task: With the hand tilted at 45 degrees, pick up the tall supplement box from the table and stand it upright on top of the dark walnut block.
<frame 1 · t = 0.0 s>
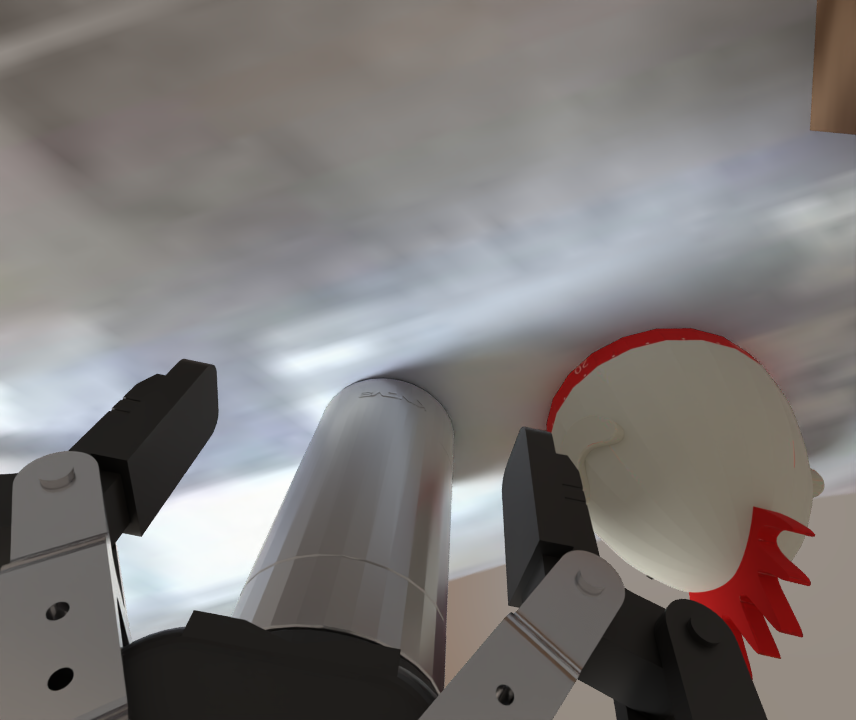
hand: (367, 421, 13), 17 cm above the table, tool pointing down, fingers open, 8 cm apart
kitchen timer: (653, 422, 33), on the table
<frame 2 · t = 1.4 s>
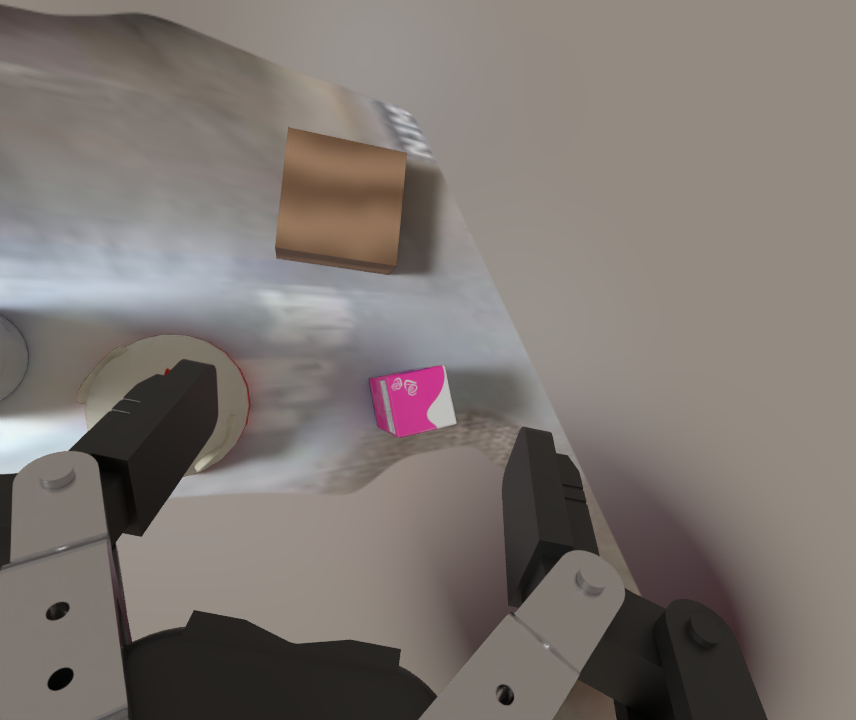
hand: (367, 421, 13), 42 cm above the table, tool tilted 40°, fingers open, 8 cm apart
supplement box: (396, 397, 56), on the table
kitchen timer: (176, 404, 50), on the table
walnut block: (338, 213, 55), on the table
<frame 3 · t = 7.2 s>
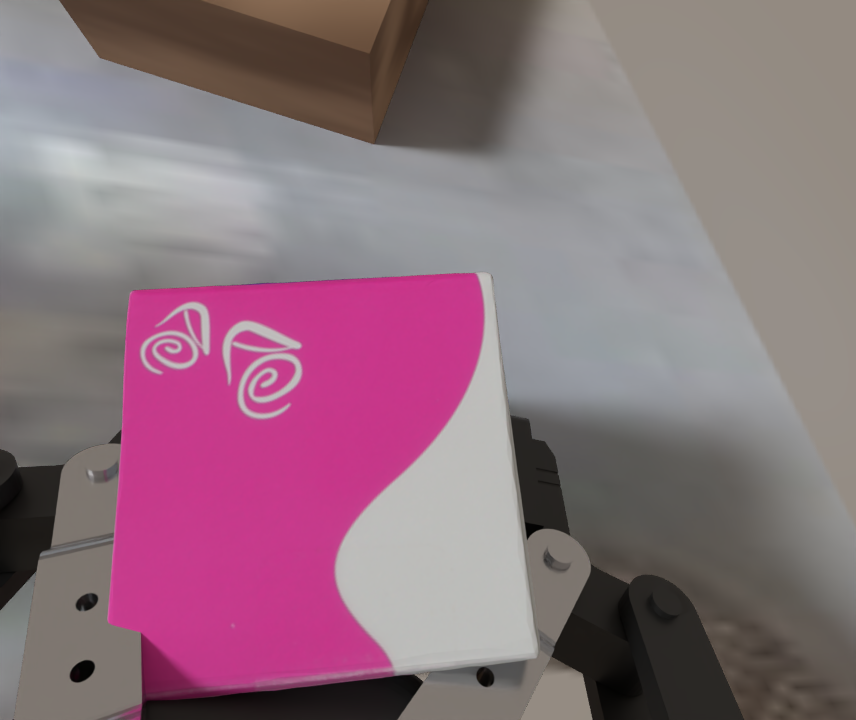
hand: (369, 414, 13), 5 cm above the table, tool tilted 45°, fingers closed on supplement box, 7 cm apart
supplement box: (366, 472, 18), on the table, touching gripper
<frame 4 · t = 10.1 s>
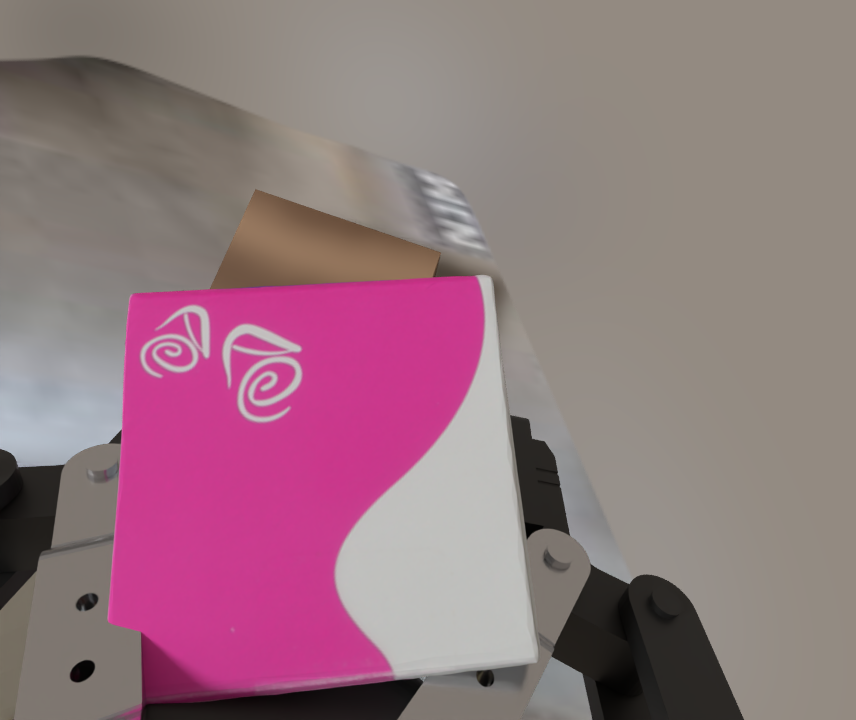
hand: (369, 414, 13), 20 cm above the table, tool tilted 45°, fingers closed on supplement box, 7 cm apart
supplement box: (367, 473, 18), point 14 cm above the table, touching gripper
walnut block: (323, 331, 34), on the table
when the fingers open (11 cm above the table, at t = 13.5 s): supplement box drops 2 cm, point 5 cm above the table.
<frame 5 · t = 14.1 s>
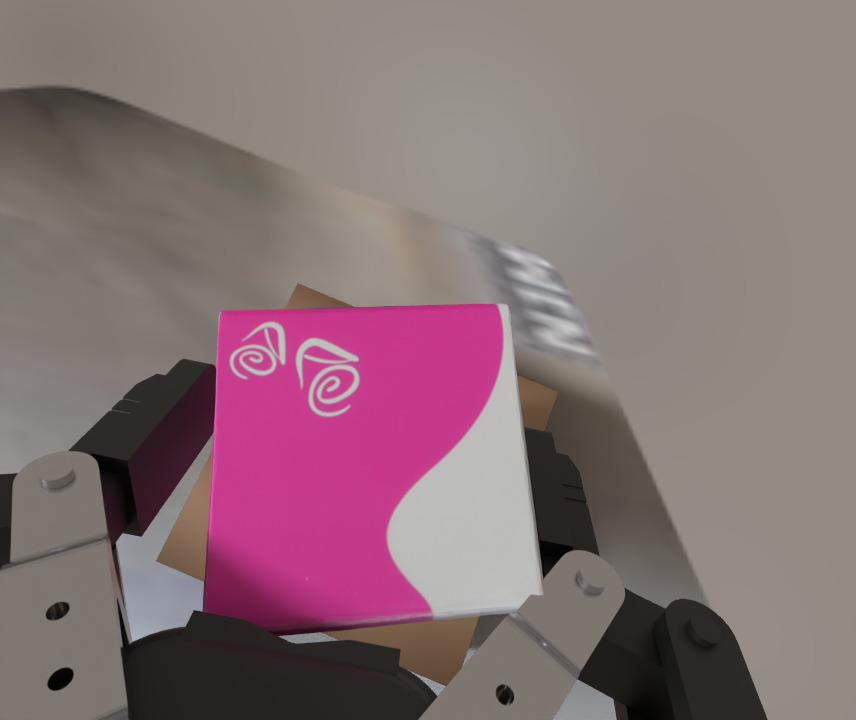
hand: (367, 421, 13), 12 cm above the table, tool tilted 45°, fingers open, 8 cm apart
supplement box: (373, 474, 20), point 5 cm above the table
walnut block: (374, 471, 25), on the table
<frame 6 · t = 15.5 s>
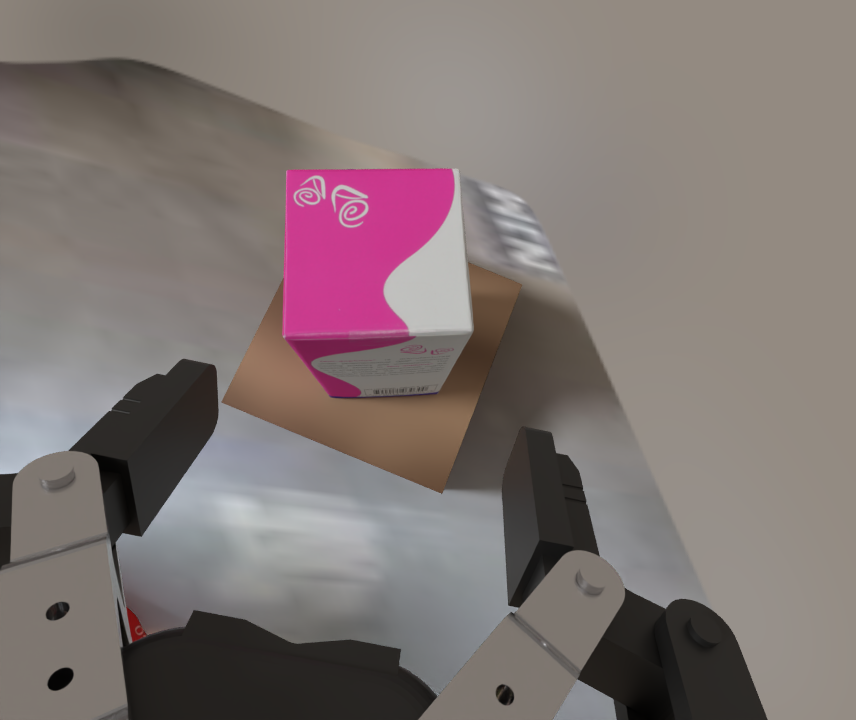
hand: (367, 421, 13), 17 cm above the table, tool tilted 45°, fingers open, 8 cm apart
supplement box: (381, 342, 26), point 4 cm above the table, touching walnut block
kitchen timer: (24, 711, 26), on the table
walnut block: (380, 359, 31), on the table, touching supplement box
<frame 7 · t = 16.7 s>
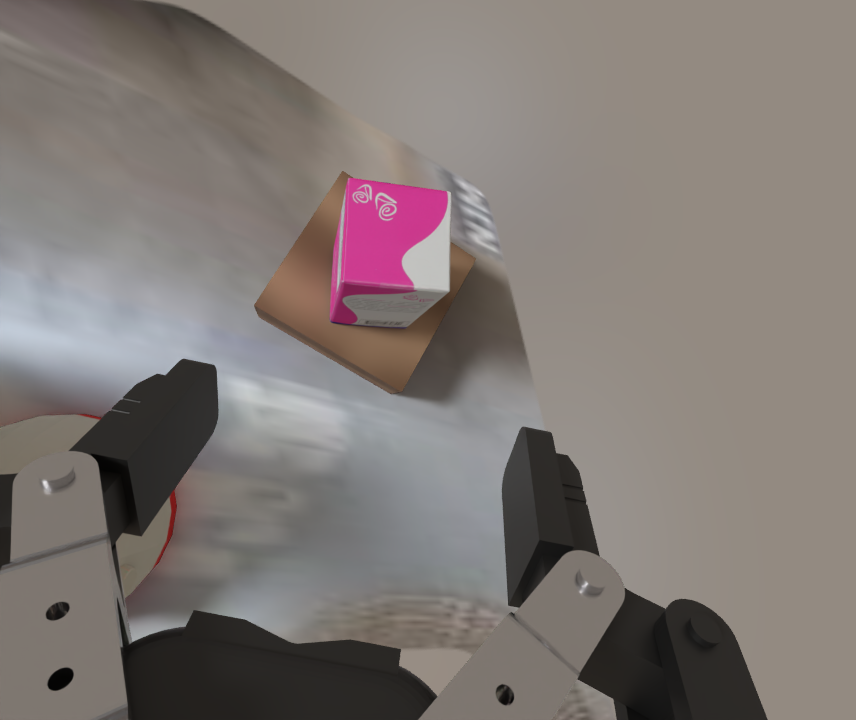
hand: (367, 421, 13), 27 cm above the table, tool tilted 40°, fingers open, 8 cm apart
supplement box: (369, 287, 37), point 4 cm above the table, touching walnut block
kitchen timer: (68, 514, 35), on the table
walnut block: (363, 295, 42), on the table, touching supplement box
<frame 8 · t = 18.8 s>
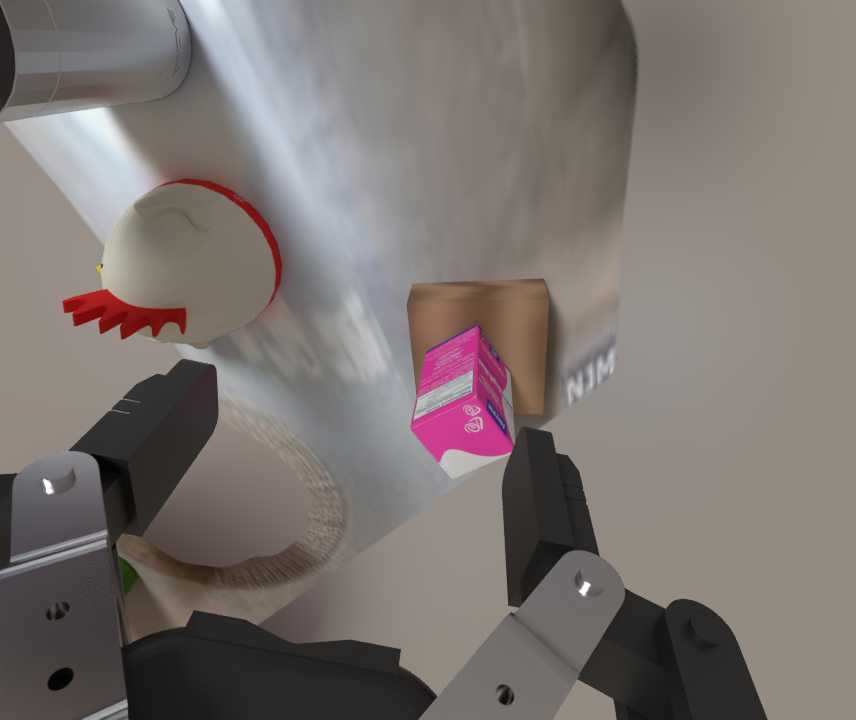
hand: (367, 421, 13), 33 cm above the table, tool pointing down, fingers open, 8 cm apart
supplement box: (468, 359, 45), point 4 cm above the table, touching walnut block
kitchen timer: (210, 254, 47), on the table
wine bottle: (107, 567, 75), on the table
walnut block: (478, 335, 50), on the table, touching supplement box
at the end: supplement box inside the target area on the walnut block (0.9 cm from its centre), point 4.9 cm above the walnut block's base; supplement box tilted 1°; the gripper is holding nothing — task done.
